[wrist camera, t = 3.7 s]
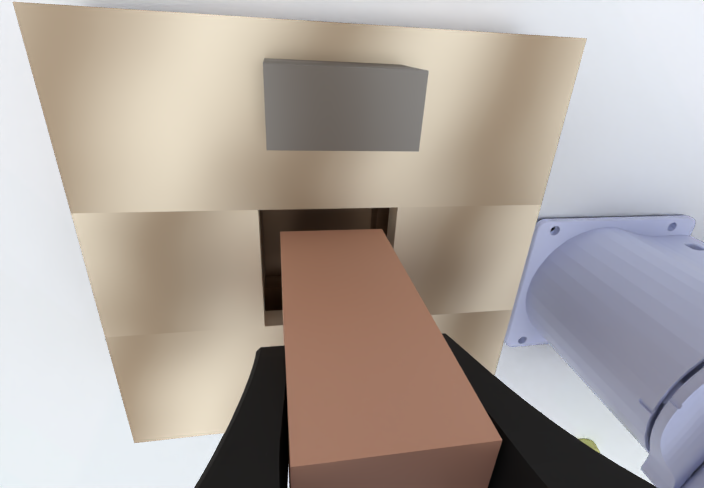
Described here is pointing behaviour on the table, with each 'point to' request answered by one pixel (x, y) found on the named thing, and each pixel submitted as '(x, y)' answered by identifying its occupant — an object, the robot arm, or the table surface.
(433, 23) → the table surface
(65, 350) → the table surface
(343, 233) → the terracotta rectangular block
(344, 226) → the wooden box
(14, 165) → the table surface
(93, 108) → the lid
